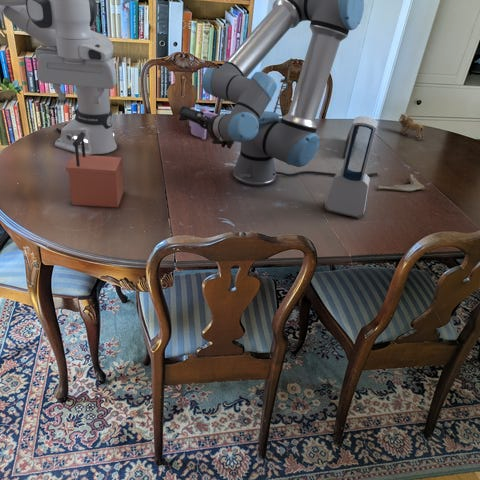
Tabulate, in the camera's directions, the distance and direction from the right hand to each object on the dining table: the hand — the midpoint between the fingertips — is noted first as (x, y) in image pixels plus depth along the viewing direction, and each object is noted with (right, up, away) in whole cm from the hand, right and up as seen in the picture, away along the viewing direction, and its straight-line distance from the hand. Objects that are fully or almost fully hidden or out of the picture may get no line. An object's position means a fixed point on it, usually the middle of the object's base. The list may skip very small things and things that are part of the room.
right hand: (198, 128), depth 153 cm
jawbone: (+71, -16, +19) cm, 75 cm away
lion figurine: (+94, +12, +67) cm, 116 cm away
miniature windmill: (+32, +16, +62) cm, 71 cm away
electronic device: (+47, -28, -3) cm, 55 cm away
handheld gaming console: (+60, +1, +44) cm, 74 cm away
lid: (-29, -15, -16) cm, 36 cm away
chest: (-30, -24, -10) cm, 40 cm away
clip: (-2, +10, +47) cm, 49 cm away
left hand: (-30, +1, -25) cm, 39 cm away
